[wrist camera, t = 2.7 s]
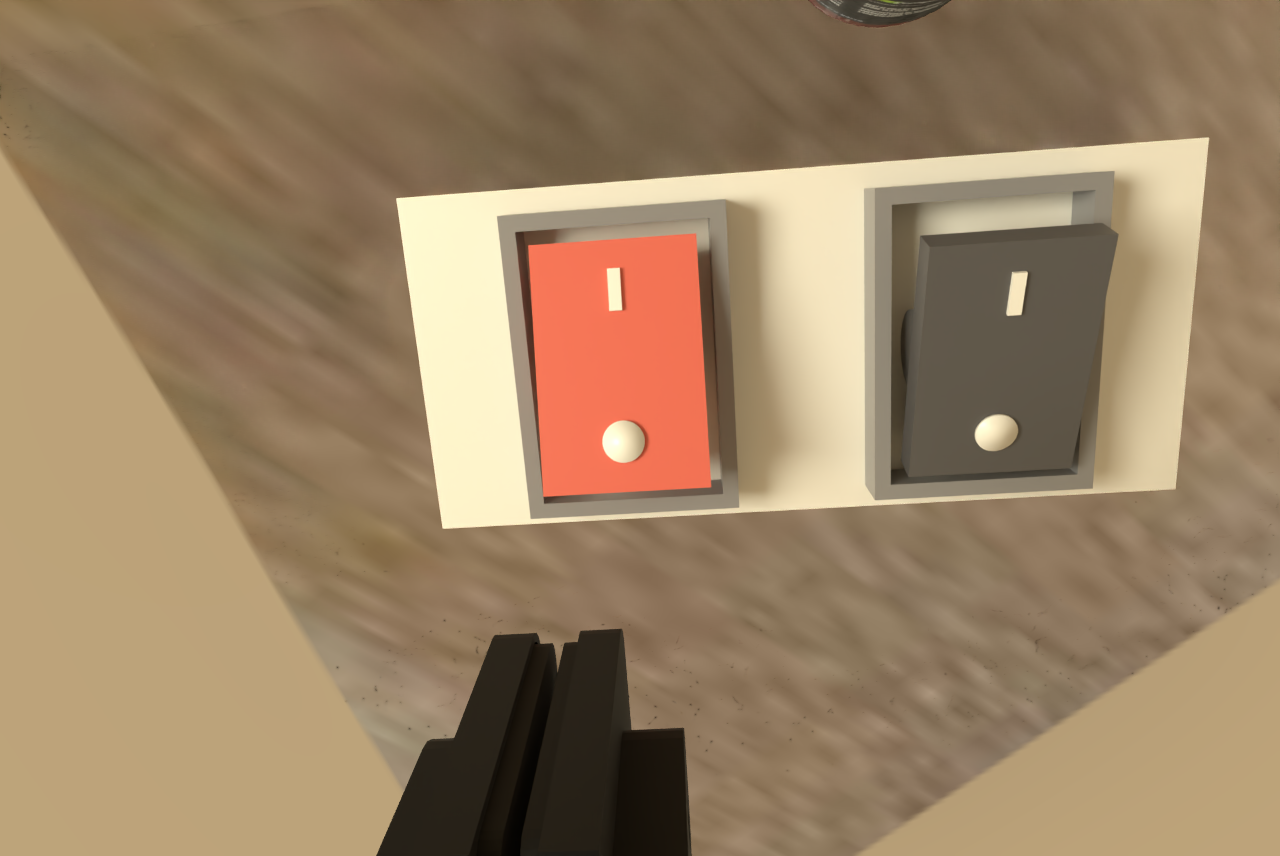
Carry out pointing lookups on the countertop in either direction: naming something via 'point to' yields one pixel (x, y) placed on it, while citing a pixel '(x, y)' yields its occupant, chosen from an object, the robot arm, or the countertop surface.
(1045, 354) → the black rocker
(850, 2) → the supplement bottle
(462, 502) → the rocker switch panel
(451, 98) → the countertop surface
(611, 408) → the red rocker
